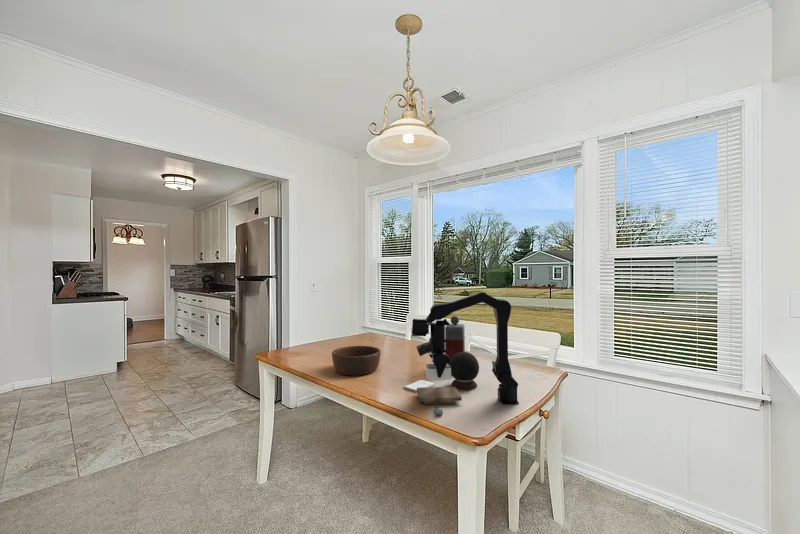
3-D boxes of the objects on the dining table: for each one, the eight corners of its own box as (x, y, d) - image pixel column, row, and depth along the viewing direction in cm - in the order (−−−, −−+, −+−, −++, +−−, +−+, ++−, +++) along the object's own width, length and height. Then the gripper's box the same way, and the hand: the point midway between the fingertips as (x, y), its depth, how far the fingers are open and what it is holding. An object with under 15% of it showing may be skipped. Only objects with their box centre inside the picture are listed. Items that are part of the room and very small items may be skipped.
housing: (428, 380, 135) (428, 367, 135) (426, 376, 140) (426, 364, 140) (451, 379, 135) (450, 366, 135) (448, 375, 140) (447, 363, 140)
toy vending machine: (465, 367, 182) (464, 314, 182) (463, 373, 171) (463, 317, 172) (448, 366, 184) (447, 314, 185) (445, 372, 174) (445, 316, 174)
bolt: (433, 409, 128) (433, 402, 128) (440, 409, 128) (440, 402, 128) (435, 416, 122) (435, 409, 122) (442, 416, 122) (442, 408, 122)
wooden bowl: (390, 370, 179) (390, 350, 179) (352, 381, 161) (352, 359, 161) (359, 361, 197) (359, 343, 197) (322, 371, 178) (322, 351, 179)
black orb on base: (452, 379, 162) (452, 347, 163) (481, 382, 158) (480, 349, 158) (446, 388, 150) (445, 354, 150) (477, 392, 145) (476, 356, 146)
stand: (455, 394, 144) (455, 386, 144) (461, 405, 132) (461, 397, 132) (416, 394, 143) (416, 387, 143) (419, 406, 131) (419, 398, 131)
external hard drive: (403, 390, 151) (420, 382, 160) (418, 394, 145) (435, 386, 155) (403, 386, 151) (420, 379, 160) (418, 390, 145) (435, 382, 155)
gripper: (415, 332, 147) (416, 369, 146) (419, 341, 128) (420, 383, 128) (441, 331, 147) (442, 368, 147) (449, 340, 128) (450, 382, 128)
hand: (438, 375), depth 137 cm, fingers closed on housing, 5 cm apart
